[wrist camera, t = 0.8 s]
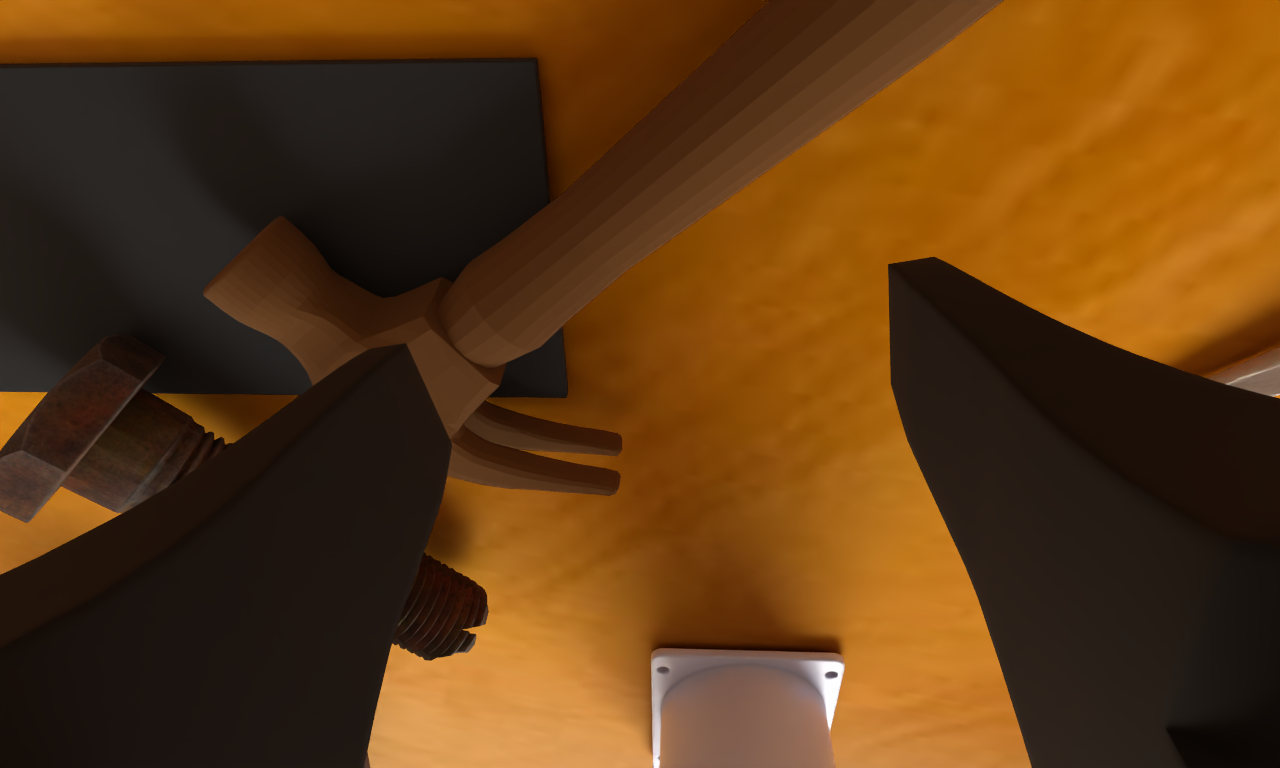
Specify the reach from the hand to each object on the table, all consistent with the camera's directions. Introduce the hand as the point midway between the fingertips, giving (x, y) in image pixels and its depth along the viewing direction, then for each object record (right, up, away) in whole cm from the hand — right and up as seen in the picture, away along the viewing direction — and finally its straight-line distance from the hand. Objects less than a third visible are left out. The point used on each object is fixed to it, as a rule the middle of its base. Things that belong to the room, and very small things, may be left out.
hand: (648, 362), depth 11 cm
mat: (-12, +4, +10) cm, 16 cm away
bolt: (-12, -4, +15) cm, 20 cm away
